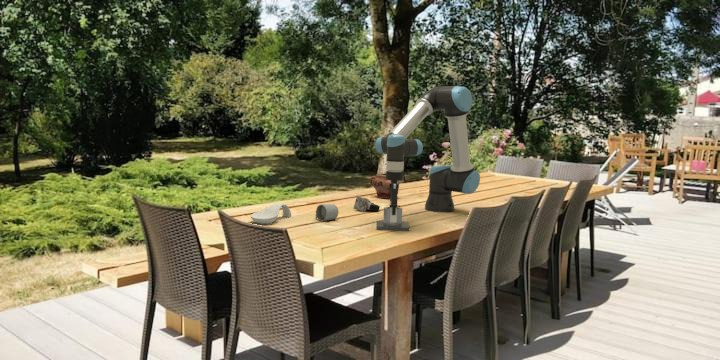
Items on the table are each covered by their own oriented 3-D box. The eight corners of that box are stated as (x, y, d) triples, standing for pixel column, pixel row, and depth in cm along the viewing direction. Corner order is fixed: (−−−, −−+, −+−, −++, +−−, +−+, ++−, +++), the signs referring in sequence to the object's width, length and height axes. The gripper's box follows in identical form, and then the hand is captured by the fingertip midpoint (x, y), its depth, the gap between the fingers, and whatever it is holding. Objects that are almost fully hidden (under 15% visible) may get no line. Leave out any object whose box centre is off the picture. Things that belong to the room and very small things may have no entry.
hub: (401, 222, 252) (401, 207, 251) (402, 226, 244) (402, 210, 243) (383, 221, 252) (383, 206, 251) (383, 225, 244) (384, 209, 243)
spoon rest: (267, 227, 242) (267, 210, 241) (245, 224, 247) (245, 207, 246) (297, 218, 263) (297, 203, 262) (276, 215, 268) (276, 200, 267)
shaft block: (407, 225, 254) (408, 206, 253) (409, 231, 242) (410, 211, 241) (376, 224, 254) (377, 205, 253) (376, 229, 242) (377, 210, 241)
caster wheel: (379, 215, 289) (372, 215, 280) (359, 208, 293) (352, 208, 284) (383, 202, 289) (376, 202, 279) (363, 196, 293) (356, 195, 283)
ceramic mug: (339, 220, 260) (339, 203, 259) (326, 222, 254) (326, 205, 253) (324, 217, 268) (324, 201, 267) (310, 219, 262) (311, 202, 261)
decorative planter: (363, 196, 329) (363, 173, 328) (373, 194, 340) (374, 171, 338) (393, 200, 319) (394, 176, 317) (403, 198, 330) (404, 174, 328)
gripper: (385, 167, 257) (383, 213, 260) (386, 174, 233) (384, 224, 235) (402, 168, 257) (400, 214, 260) (404, 174, 232) (402, 225, 235)
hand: (392, 219), depth 248 cm, fingers open, 13 cm apart
